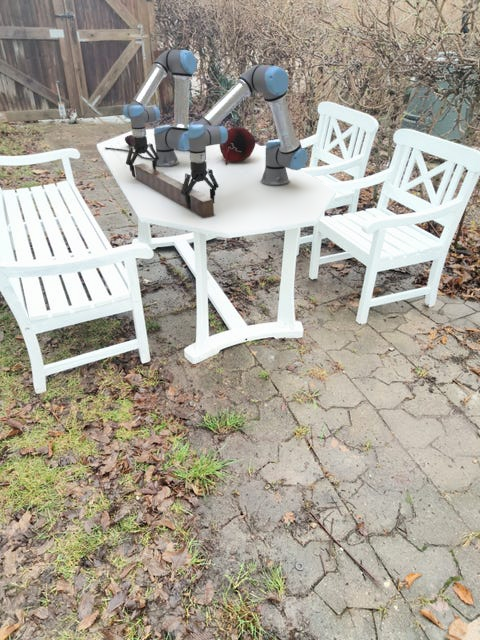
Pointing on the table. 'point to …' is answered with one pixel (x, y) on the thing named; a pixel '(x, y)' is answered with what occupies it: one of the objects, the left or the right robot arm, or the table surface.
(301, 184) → the table surface
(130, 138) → the rock
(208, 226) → the table surface
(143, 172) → the bar
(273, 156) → the right robot arm
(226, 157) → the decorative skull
